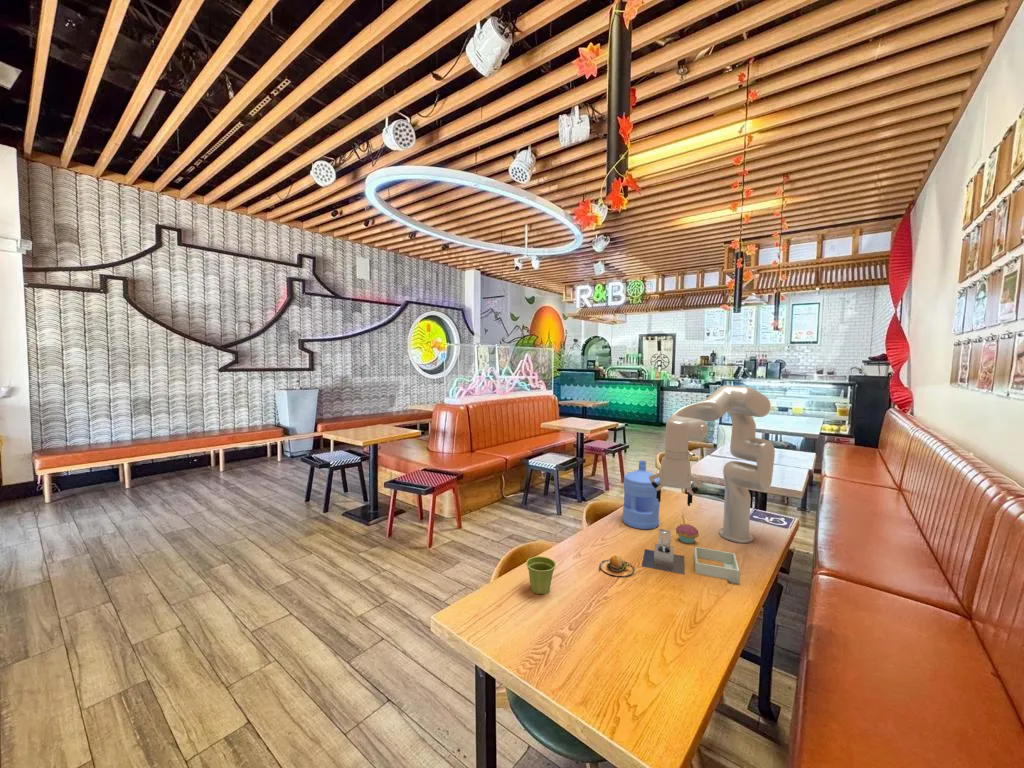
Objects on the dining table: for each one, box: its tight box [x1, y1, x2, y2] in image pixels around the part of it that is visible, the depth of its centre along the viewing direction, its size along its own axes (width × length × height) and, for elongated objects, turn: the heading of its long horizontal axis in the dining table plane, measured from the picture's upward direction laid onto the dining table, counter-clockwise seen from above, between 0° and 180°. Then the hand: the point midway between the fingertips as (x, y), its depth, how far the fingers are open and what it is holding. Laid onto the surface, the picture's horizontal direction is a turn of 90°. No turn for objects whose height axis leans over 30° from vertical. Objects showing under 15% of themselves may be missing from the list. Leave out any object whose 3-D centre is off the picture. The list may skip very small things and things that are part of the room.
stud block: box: [641, 548, 686, 576], centre depth 151 cm, size 14×14×5 cm
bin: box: [693, 546, 740, 585], centre depth 147 cm, size 13×13×5 cm
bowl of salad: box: [598, 555, 635, 578], centre depth 146 cm, size 12×12×8 cm
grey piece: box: [653, 528, 675, 567], centre depth 151 cm, size 6×6×11 cm
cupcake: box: [675, 512, 700, 544], centre depth 168 cm, size 9×8×12 cm
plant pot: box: [525, 555, 557, 595], centre depth 134 cm, size 9×9×9 cm
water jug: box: [622, 460, 661, 530], centre depth 187 cm, size 16×16×28 cm
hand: (673, 502), depth 148 cm, fingers open, 9 cm apart
